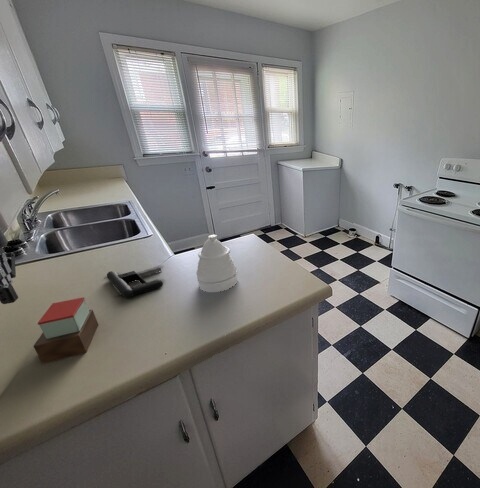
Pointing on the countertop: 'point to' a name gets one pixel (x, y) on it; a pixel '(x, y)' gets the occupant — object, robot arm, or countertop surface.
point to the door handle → (125, 278)
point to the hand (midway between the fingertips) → (10, 301)
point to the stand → (67, 342)
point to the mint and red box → (64, 317)
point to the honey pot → (215, 267)
